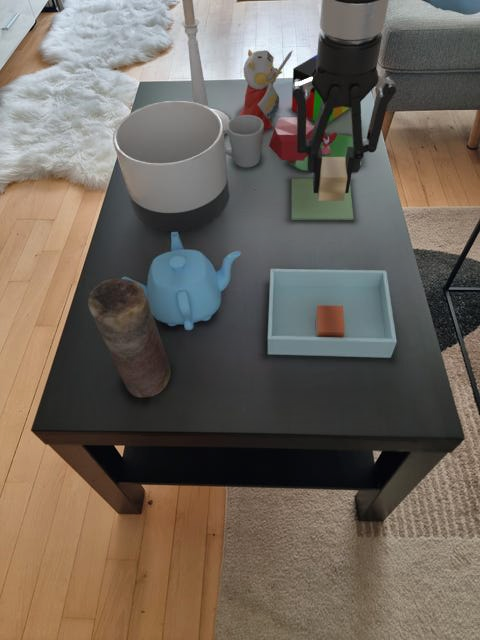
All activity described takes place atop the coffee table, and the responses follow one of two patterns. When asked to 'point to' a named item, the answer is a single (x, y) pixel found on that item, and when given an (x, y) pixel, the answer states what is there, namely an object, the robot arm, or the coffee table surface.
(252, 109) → the figurine
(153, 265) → the teapot
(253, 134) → the cup
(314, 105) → the puzzle toy
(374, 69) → the robot arm
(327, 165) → the birch piece
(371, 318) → the box
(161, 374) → the candle
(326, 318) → the terracotta piece
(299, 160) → the low-poly diorama
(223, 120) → the candlestick
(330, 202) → the mat
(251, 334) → the coffee table surface
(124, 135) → the planter
